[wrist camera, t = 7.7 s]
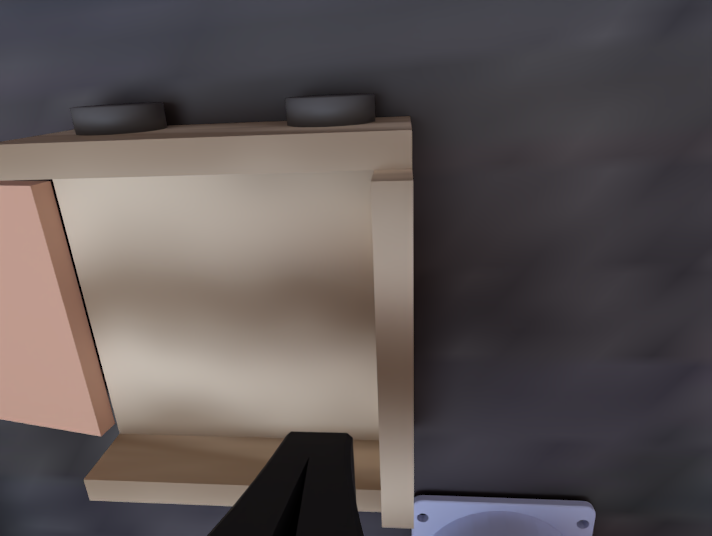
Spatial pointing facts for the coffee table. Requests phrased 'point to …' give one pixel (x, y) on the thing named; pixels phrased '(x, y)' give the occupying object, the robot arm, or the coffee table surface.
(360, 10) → the coffee table surface
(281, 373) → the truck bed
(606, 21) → the coffee table surface
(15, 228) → the panel
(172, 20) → the coffee table surface
